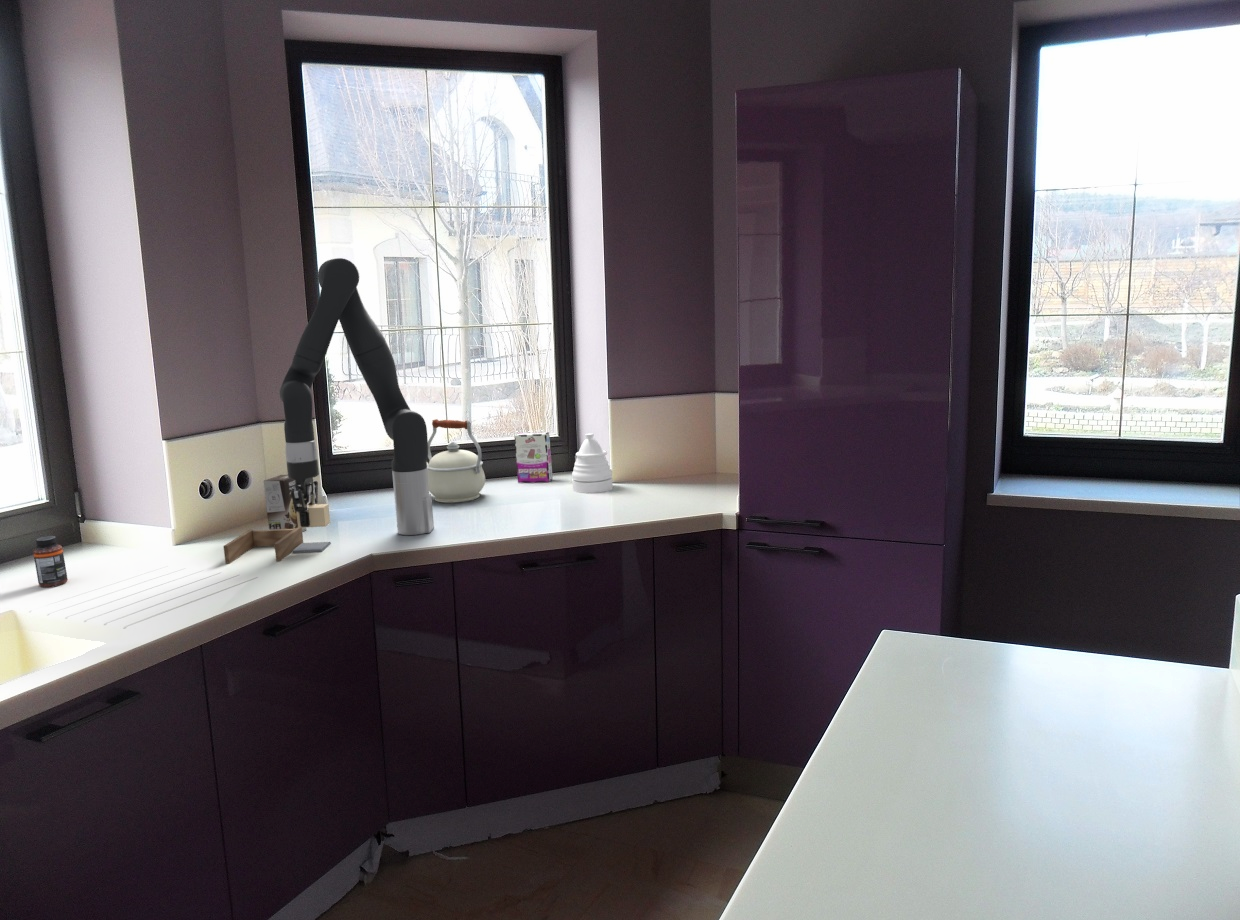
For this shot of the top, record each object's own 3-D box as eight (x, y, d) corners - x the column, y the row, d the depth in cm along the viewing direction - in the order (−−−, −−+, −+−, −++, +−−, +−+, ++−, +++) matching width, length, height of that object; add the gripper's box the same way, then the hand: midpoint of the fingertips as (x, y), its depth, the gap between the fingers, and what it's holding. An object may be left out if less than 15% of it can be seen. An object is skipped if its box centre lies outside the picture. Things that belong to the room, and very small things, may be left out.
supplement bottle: (47, 581, 223) (39, 535, 221) (72, 579, 223) (65, 533, 221) (33, 589, 217) (25, 541, 215) (60, 587, 217) (52, 540, 215)
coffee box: (290, 538, 253) (283, 480, 250) (268, 538, 254) (262, 480, 252) (307, 529, 262) (301, 473, 259) (287, 529, 263) (280, 473, 260)
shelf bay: (303, 543, 247) (301, 526, 246) (280, 561, 231) (278, 543, 230) (252, 545, 247) (250, 529, 247) (225, 563, 231) (223, 546, 230)
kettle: (502, 494, 296) (497, 417, 292) (463, 507, 281) (457, 425, 277) (444, 489, 309) (438, 414, 305) (404, 500, 294) (396, 422, 290)
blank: (303, 523, 242) (301, 505, 241) (330, 522, 242) (328, 504, 241) (298, 527, 238) (296, 508, 237) (325, 526, 238) (323, 507, 237)
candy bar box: (553, 479, 317) (550, 431, 314) (549, 482, 312) (546, 433, 309) (521, 479, 319) (517, 432, 316) (517, 482, 314) (513, 434, 311)
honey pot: (612, 492, 292) (609, 435, 289) (571, 493, 293) (568, 437, 289) (613, 483, 305) (610, 429, 302) (573, 485, 305) (570, 431, 302)
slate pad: (330, 543, 245) (330, 541, 245) (321, 551, 238) (321, 549, 237) (302, 545, 245) (302, 542, 245) (292, 553, 238) (292, 550, 238)
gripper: (307, 462, 230) (314, 530, 233) (325, 453, 244) (331, 517, 247) (277, 464, 230) (284, 531, 233) (296, 454, 244) (303, 518, 247)
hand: (308, 524), depth 240 cm, fingers closed on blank, 4 cm apart
